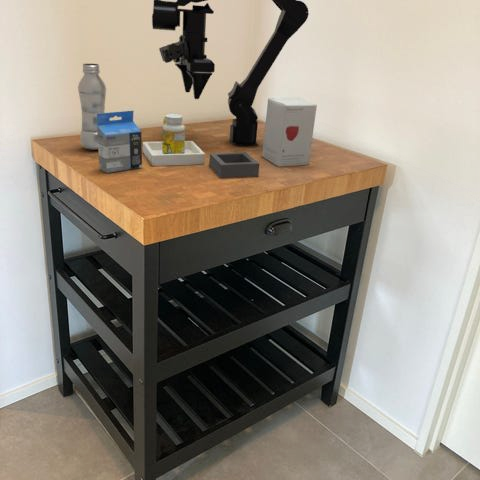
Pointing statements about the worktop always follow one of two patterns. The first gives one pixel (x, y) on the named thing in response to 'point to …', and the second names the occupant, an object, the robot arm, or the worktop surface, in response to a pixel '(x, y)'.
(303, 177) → the worktop surface
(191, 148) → the tray
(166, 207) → the worktop surface
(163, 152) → the supplement bottle
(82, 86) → the plastic bottle
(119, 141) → the label tape box
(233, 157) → the socket collar
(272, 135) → the supplement box
